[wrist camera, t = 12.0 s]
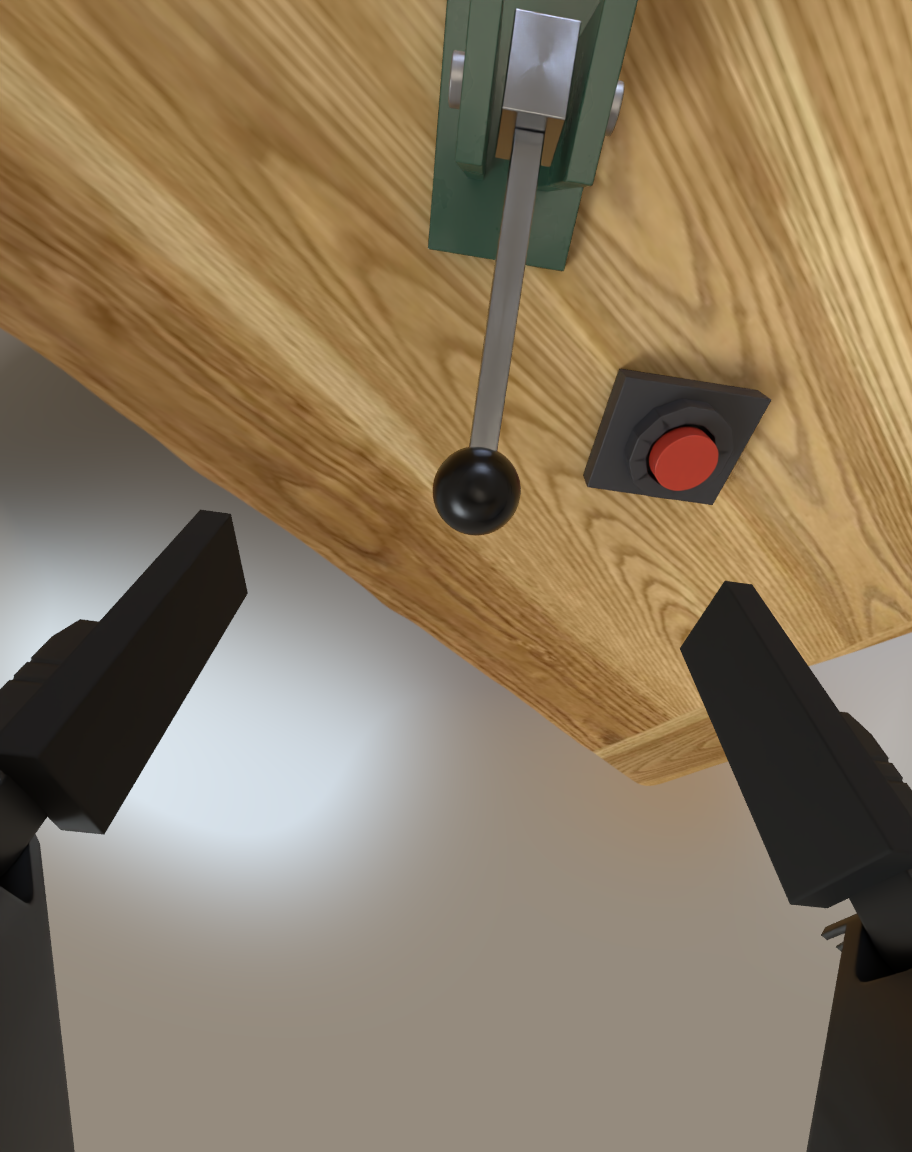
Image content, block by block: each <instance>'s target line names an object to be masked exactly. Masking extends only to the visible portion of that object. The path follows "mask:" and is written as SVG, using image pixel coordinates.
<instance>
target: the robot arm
mask: <svg viewBox="0 0 912 1152" xmlns="http://www.w3.org/2000/svg"><path fill="white" fill-rule="evenodd" d="M246 595H247V588H246V583H245V578H244V573H243V569H242V565H241V560H240V555H239V550H238V545H237V541H236V536H235V531H234V526H233V522H232V517H231V514H228V513H220V512H213V511H206V510H200V511H199V512H198V513H197V514H196V515H195V516H194V518H193V519H192V520H191V521H190V522H189V523H188V524H187V525H186V526H185V527H184V529H183V530H182V531H181V532H180V533H179V534H178V535H177V536H176V537H175V538H174V540H173V541H172V542H171V543H170V544H169V545H168V546H167V548H166V549H165V550H164V551H163V552H162V553H161V554H160V555H159V556H158V557H157V558H156V559H155V561H154V562H153V563H152V564H151V565H150V566H149V567H148V568H147V569H146V571H145V572H144V573H143V574H142V575H141V576H140V577H139V578H138V579H137V581H136V582H135V583H134V584H133V585H132V586H131V587H130V588H129V590H127V592H126V593H125V594H124V595H123V596H122V597H121V598H120V599H119V601H118V602H117V603H116V604H115V605H114V606H113V607H112V608H111V609H110V610H109V612H108V613H107V614H106V615H105V616H104V617H103V618H102V619H101V620H100V621H99V622H97V621H89V620H81V619H80V620H79V621H77V622H75V623H73V624H72V625H70V626H68V627H67V628H65V629H64V630H62V631H60V632H59V633H57V634H55V635H54V636H52V637H51V638H50V639H49V640H48V641H47V642H46V643H45V644H44V645H43V646H42V647H41V648H40V649H39V650H38V651H37V652H36V653H35V654H34V655H33V656H32V657H31V661H30V662H27V663H26V664H25V665H24V666H23V667H22V668H21V669H20V670H19V671H18V672H17V673H16V674H15V675H14V679H13V680H9V681H8V682H7V683H6V684H5V685H4V686H3V687H2V688H1V689H0V1152H74V1143H73V1134H72V1125H71V1116H70V1107H69V1099H68V1090H67V1081H66V1072H65V1063H64V1054H63V1045H62V1036H61V1028H60V1019H59V1010H58V1001H57V992H56V983H55V975H54V967H53V966H54V965H53V957H52V947H51V939H50V930H49V921H48V912H47V904H46V894H45V885H44V877H43V868H42V859H41V851H40V843H39V841H38V839H37V836H36V834H35V833H36V832H37V831H38V829H39V828H40V826H41V825H42V823H43V822H44V820H45V819H46V818H47V817H48V818H49V819H50V820H51V821H52V822H53V823H54V824H55V825H57V826H58V828H59V829H61V830H65V831H75V832H86V833H95V834H105V832H106V831H107V829H108V827H109V825H110V824H111V822H112V820H113V819H114V817H115V815H116V814H117V812H118V810H119V809H120V807H121V805H122V804H123V802H124V800H125V799H126V797H127V795H128V794H129V792H130V790H131V788H132V787H133V785H134V784H135V782H136V780H137V778H138V777H139V775H140V773H141V771H142V770H143V768H144V767H145V765H146V763H147V762H148V760H149V758H150V757H151V755H152V753H153V752H154V750H155V748H156V746H157V745H158V743H159V742H160V740H161V738H162V736H163V735H164V733H165V731H166V730H167V728H168V726H169V725H170V723H171V721H172V720H173V718H174V716H175V715H176V713H177V711H178V710H179V708H180V706H181V704H182V703H183V701H184V699H185V698H186V696H187V694H188V693H189V691H190V689H191V688H192V686H193V684H194V683H195V681H196V679H197V678H198V676H199V674H200V672H201V671H202V669H203V668H204V666H205V664H206V663H207V661H208V659H209V658H210V656H211V654H212V652H213V651H214V649H215V647H216V646H217V644H218V642H219V640H220V639H221V637H222V636H223V634H224V632H225V630H226V629H227V627H228V625H229V624H230V622H231V620H232V619H233V617H234V615H235V614H236V612H237V610H238V609H239V607H240V605H241V604H242V602H243V600H244V599H245V597H246ZM680 650H681V652H682V655H683V657H684V659H685V662H686V664H687V666H688V669H689V671H690V673H691V676H692V678H693V680H694V683H695V685H696V687H697V690H698V692H699V694H700V696H701V699H702V701H703V703H704V706H705V708H706V710H707V713H708V715H709V717H710V720H711V722H712V724H713V727H714V729H715V731H716V734H717V736H718V738H719V741H720V743H721V745H722V748H723V750H724V752H725V754H726V757H727V759H728V761H729V764H730V766H731V768H732V771H733V773H734V775H735V778H736V780H737V782H738V785H739V787H740V789H741V792H742V794H743V796H744V798H745V801H746V803H747V806H748V808H749V810H750V812H751V815H752V817H753V819H754V822H755V824H756V826H757V829H758V831H759V833H760V836H761V838H762V840H763V843H764V845H765V847H766V849H767V852H768V854H769V857H770V859H771V861H772V863H773V866H774V868H775V870H776V873H777V875H778V877H779V880H780V882H781V884H782V887H783V889H784V891H785V894H786V896H787V898H788V901H789V903H790V904H791V905H801V906H811V907H821V908H829V907H831V906H833V905H835V904H837V903H839V902H842V901H843V900H846V899H848V898H849V899H850V901H851V903H852V904H853V907H854V908H855V910H856V912H857V914H855V915H852V916H850V917H848V918H845V919H843V920H841V921H838V922H836V923H834V924H831V925H829V926H827V927H825V929H824V931H823V932H822V934H821V936H823V937H824V938H825V939H826V940H828V939H831V938H834V937H836V936H838V935H841V934H843V933H845V936H844V942H842V943H840V944H839V945H837V946H836V948H838V949H839V950H840V951H841V952H842V953H841V959H840V964H839V970H838V976H837V981H836V987H835V993H834V998H833V1004H832V1010H831V1015H830V1022H829V1027H828V1033H827V1039H826V1044H825V1050H824V1055H823V1061H822V1067H821V1072H820V1079H819V1084H818V1090H817V1095H816V1101H815V1107H814V1112H813V1118H812V1123H811V1129H810V1135H809V1141H808V1146H807V1152H912V790H911V789H910V787H909V786H908V785H907V783H903V781H902V779H903V777H902V776H901V775H900V773H899V772H898V771H897V769H896V768H895V767H894V765H893V764H892V763H889V762H888V757H887V755H886V754H885V753H884V751H883V750H882V748H881V747H880V745H879V744H878V743H877V741H876V740H875V739H874V737H873V736H872V734H870V733H869V732H868V731H867V730H866V729H865V728H864V727H863V726H862V725H861V724H860V723H859V722H858V721H856V720H855V719H854V718H853V717H852V716H851V715H850V714H849V713H846V712H839V710H838V709H837V707H836V706H835V704H834V703H833V702H832V700H831V699H830V697H829V696H828V694H827V693H826V691H825V690H824V688H823V687H822V686H821V684H820V683H819V681H818V680H817V678H816V677H815V675H814V674H813V673H812V671H811V669H810V668H809V666H808V665H807V664H806V662H805V661H804V659H803V658H802V656H801V655H800V653H799V652H798V650H797V649H796V648H795V646H794V645H793V643H792V642H791V640H790V639H789V637H788V636H787V635H786V633H785V632H784V630H783V629H782V627H781V626H780V624H779V623H778V621H777V620H776V619H775V617H774V616H773V614H772V613H771V611H770V610H769V608H768V607H767V605H766V604H765V603H764V601H763V600H762V598H761V597H760V595H759V594H758V592H757V591H756V589H755V588H754V587H753V585H752V584H744V583H737V582H730V581H724V583H723V584H722V586H721V587H720V589H719V590H718V592H717V593H716V595H715V596H714V598H713V599H712V601H711V602H710V604H709V605H708V607H707V608H706V610H705V611H704V613H703V614H702V616H701V617H700V619H699V620H698V622H697V623H696V625H695V626H694V628H693V629H692V631H691V632H690V634H689V635H688V637H687V638H686V640H685V641H684V643H683V644H682V646H681V647H680Z"/></svg>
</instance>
